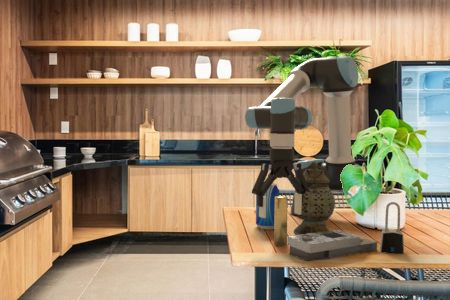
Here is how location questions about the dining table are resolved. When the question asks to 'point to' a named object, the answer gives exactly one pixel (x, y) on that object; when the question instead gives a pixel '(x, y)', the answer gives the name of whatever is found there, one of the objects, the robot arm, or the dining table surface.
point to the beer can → (268, 209)
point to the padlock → (392, 236)
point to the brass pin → (280, 221)
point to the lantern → (315, 202)
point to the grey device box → (328, 245)
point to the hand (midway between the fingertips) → (280, 215)
